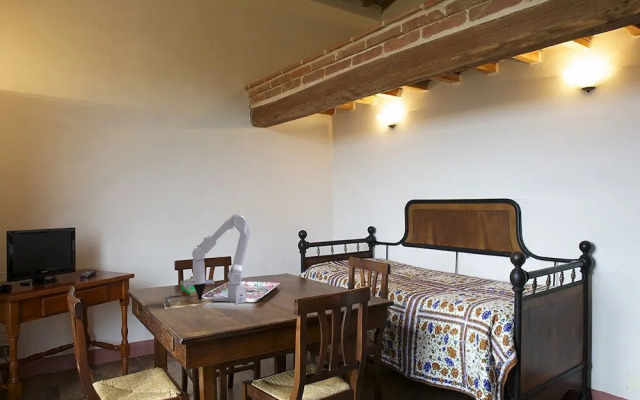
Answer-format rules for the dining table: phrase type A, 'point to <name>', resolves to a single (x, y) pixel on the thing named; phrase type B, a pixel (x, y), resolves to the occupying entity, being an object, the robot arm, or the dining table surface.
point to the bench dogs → (167, 302)
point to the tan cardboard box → (189, 300)
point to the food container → (187, 288)
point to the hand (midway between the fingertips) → (199, 299)
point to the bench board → (177, 305)
